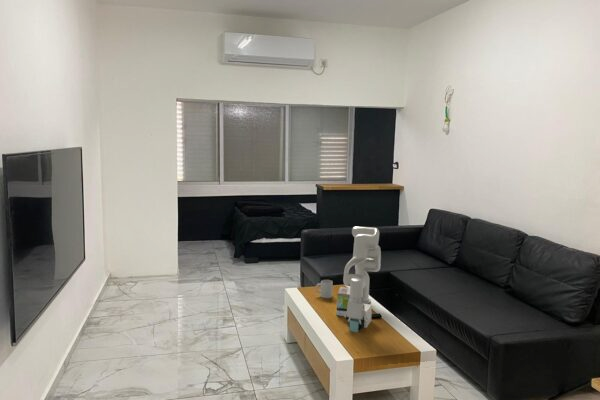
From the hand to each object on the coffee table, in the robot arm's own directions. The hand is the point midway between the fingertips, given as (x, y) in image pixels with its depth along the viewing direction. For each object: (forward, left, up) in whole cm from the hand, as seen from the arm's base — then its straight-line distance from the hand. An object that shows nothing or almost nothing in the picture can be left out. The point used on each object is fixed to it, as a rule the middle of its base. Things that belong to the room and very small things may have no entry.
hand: (355, 328), depth 272 cm
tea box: (-24, -14, -1) cm, 28 cm away
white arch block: (-11, 0, -1) cm, 11 cm away
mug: (-46, -37, -1) cm, 59 cm away
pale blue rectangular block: (-3, 0, -1) cm, 3 cm away
